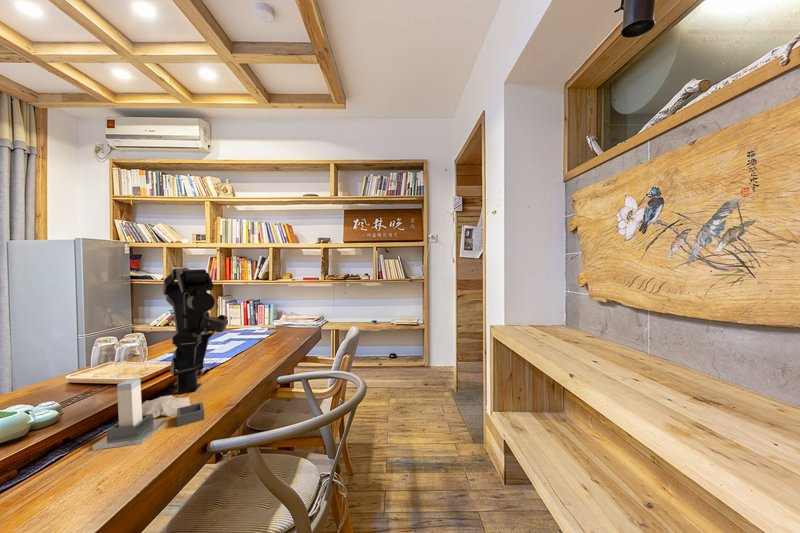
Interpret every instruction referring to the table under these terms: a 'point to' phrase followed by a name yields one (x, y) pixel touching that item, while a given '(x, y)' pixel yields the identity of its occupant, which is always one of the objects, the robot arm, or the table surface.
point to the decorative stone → (164, 406)
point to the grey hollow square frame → (190, 414)
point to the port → (129, 433)
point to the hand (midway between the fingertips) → (197, 360)
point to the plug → (129, 402)
